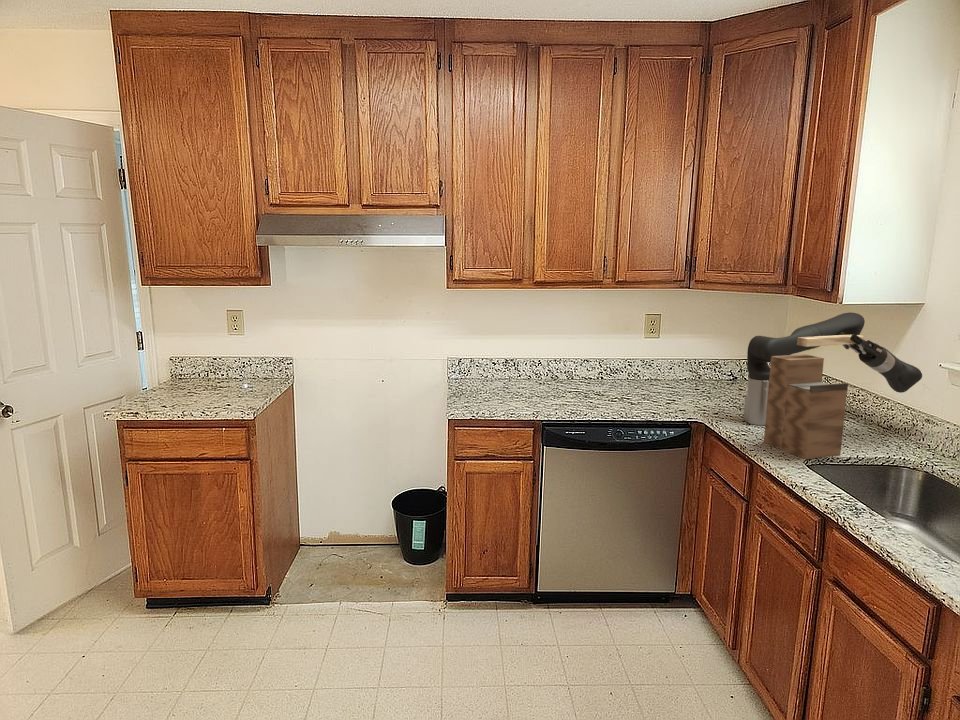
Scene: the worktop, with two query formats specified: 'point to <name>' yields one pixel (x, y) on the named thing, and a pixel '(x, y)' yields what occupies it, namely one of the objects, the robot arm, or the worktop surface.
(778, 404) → the stepped shelf
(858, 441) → the worktop surface
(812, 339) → the birch plank
